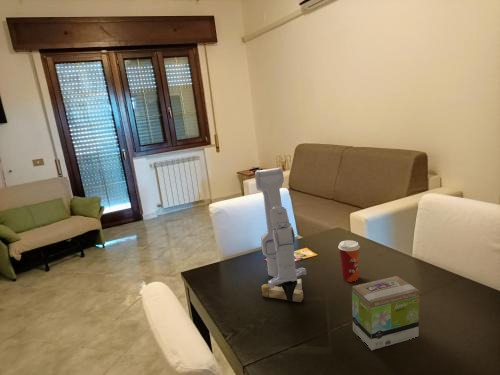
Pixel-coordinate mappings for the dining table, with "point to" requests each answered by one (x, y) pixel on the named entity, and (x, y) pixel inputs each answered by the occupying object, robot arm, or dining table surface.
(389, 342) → the tea box
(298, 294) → the leg
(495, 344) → the dining table surface
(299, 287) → the block
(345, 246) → the paper cup
